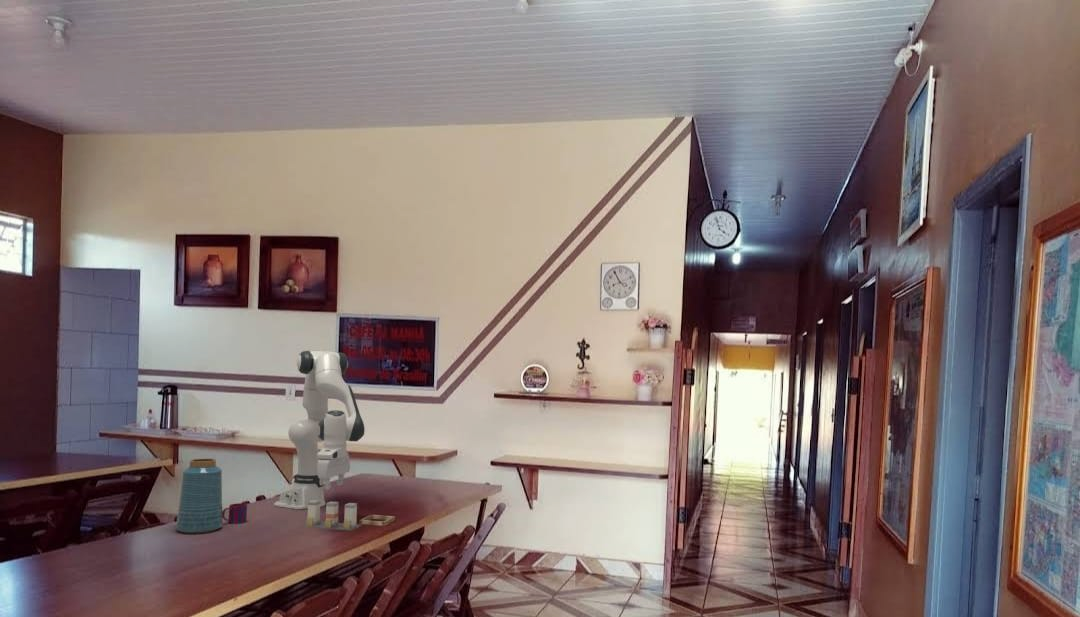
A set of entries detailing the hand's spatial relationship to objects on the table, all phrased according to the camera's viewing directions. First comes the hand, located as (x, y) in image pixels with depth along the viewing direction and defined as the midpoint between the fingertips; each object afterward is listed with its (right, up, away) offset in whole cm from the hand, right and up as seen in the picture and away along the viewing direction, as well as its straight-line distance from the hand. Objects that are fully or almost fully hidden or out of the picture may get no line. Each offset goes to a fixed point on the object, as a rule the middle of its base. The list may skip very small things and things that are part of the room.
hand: (334, 487), depth 289 cm
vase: (-50, -15, -7) cm, 53 cm away
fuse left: (-8, -15, +1) cm, 17 cm away
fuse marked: (-1, -15, -1) cm, 15 cm away
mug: (-42, -16, +6) cm, 46 cm away
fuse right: (+7, -15, -3) cm, 17 cm away
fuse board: (-1, -16, -1) cm, 16 cm away
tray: (+16, -17, +8) cm, 24 cm away
